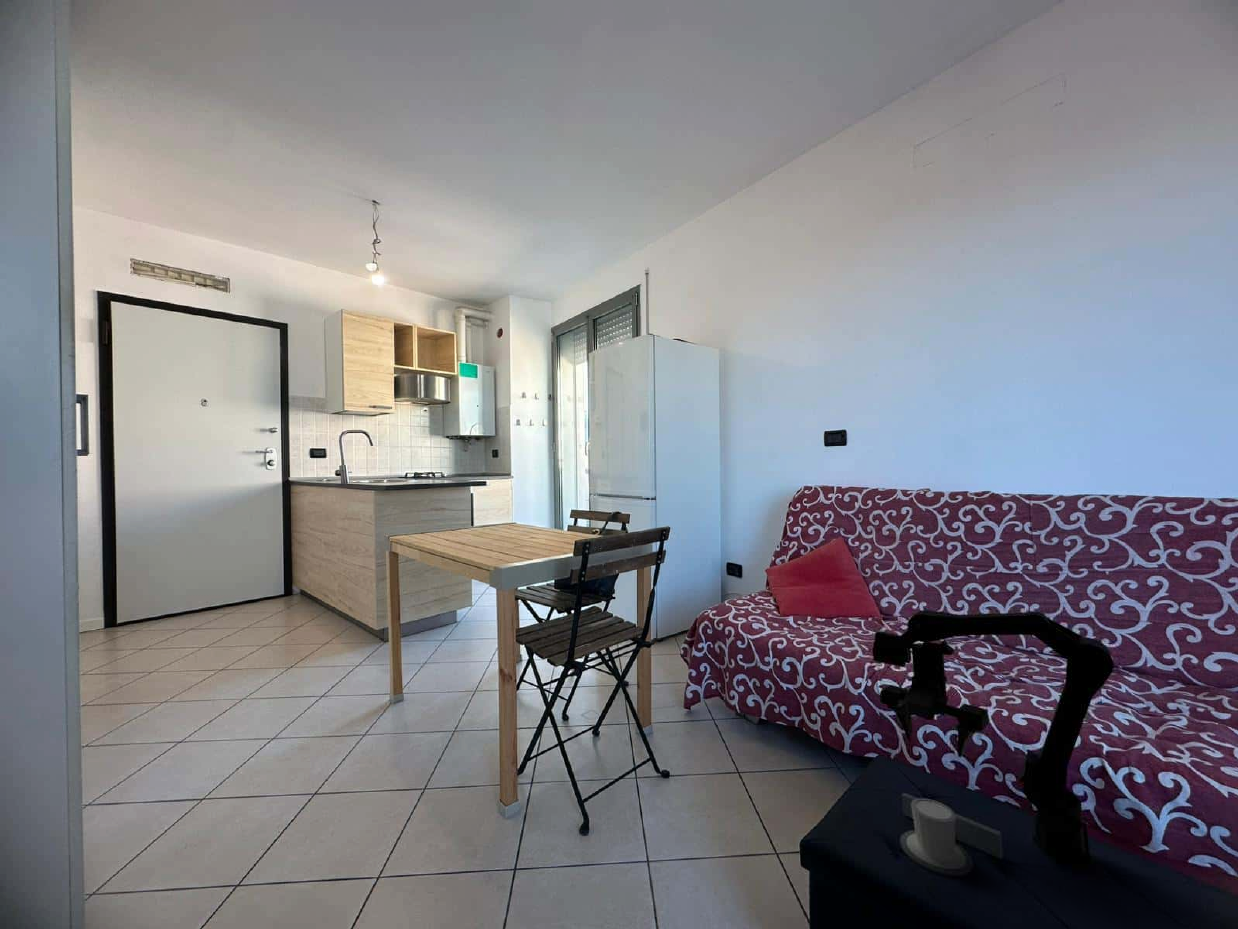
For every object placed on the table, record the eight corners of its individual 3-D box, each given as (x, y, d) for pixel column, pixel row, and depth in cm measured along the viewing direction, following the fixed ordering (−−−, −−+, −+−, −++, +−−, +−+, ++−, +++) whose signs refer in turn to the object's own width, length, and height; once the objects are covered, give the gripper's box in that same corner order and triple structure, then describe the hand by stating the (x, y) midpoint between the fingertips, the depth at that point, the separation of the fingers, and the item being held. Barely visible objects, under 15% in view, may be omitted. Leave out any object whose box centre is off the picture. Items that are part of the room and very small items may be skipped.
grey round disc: (949, 833, 91) (948, 831, 91) (988, 878, 80) (988, 874, 80) (889, 831, 92) (889, 828, 92) (920, 874, 81) (920, 871, 81)
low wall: (902, 815, 96) (901, 795, 97) (905, 813, 97) (903, 792, 98) (1001, 859, 84) (999, 835, 85) (1003, 856, 85) (1001, 832, 85)
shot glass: (915, 855, 85) (912, 814, 85) (912, 832, 91) (909, 794, 91) (961, 869, 81) (958, 825, 82) (955, 844, 87) (952, 804, 88)
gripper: (867, 669, 103) (871, 744, 102) (970, 694, 89) (977, 781, 87) (887, 658, 110) (892, 728, 109) (986, 680, 96) (992, 760, 95)
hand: (934, 748), depth 100 cm, fingers open, 9 cm apart
